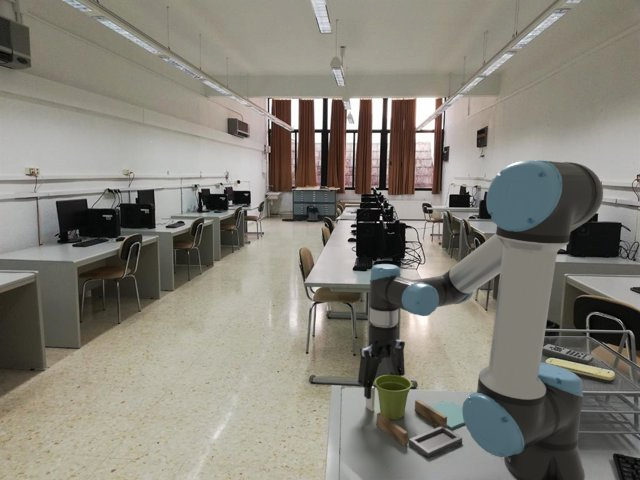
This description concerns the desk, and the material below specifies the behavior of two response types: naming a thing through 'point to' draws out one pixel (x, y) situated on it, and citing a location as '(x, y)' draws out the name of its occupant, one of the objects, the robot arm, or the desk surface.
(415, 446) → the tray
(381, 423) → the channel
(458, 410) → the pad
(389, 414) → the plant pot
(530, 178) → the robot arm
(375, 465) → the desk surface
